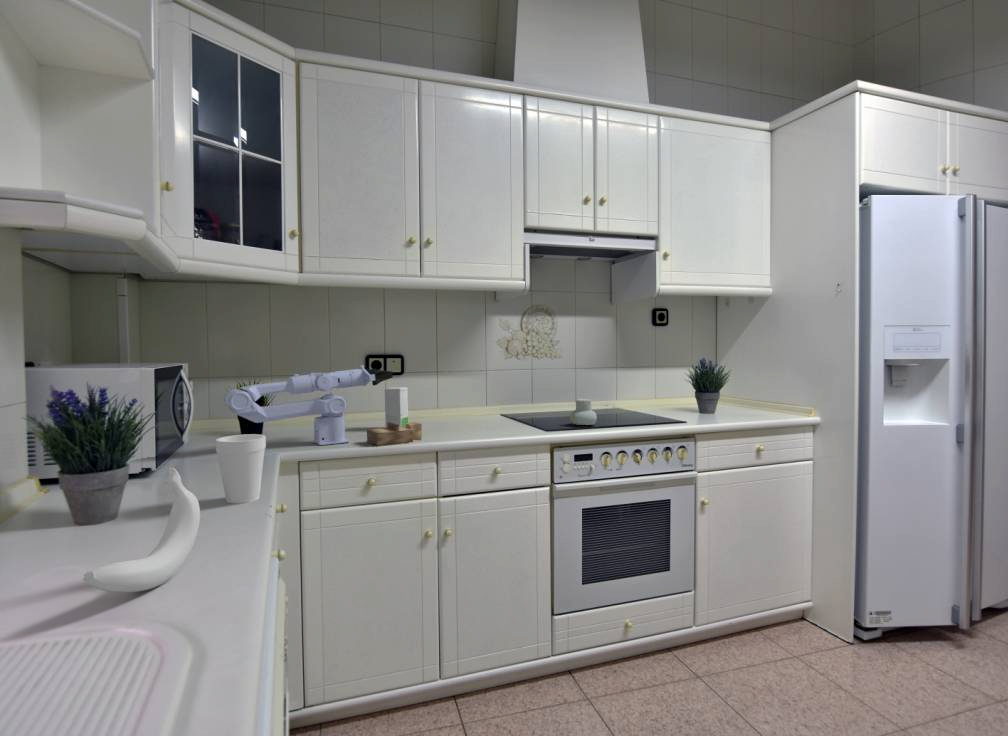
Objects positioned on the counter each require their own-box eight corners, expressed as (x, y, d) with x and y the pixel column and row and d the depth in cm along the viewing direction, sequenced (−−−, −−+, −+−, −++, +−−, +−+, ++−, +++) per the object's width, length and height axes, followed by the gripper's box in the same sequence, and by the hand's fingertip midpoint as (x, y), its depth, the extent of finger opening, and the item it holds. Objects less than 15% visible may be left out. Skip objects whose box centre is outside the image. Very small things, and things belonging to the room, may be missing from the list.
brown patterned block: (410, 441, 185) (410, 424, 185) (405, 439, 189) (405, 423, 188) (421, 440, 187) (421, 423, 187) (416, 438, 191) (416, 422, 190)
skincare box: (400, 430, 206) (400, 388, 206) (384, 430, 208) (383, 388, 207) (409, 427, 215) (408, 386, 214) (393, 427, 216) (392, 386, 215)
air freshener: (569, 423, 221) (569, 398, 221) (589, 423, 223) (589, 397, 222) (577, 427, 210) (577, 401, 210) (598, 427, 212) (598, 400, 211)
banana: (82, 617, 68) (76, 498, 67) (179, 557, 87) (175, 463, 86) (121, 618, 68) (116, 498, 67) (210, 557, 86) (206, 463, 86)
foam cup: (274, 499, 118) (272, 437, 117) (227, 508, 112) (224, 443, 111) (257, 490, 125) (255, 432, 124) (212, 499, 118) (210, 438, 118)
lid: (379, 435, 177) (379, 426, 177) (370, 432, 184) (370, 423, 183) (411, 431, 183) (411, 423, 183) (401, 428, 190) (401, 420, 190)
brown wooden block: (377, 446, 176) (377, 433, 176) (367, 442, 184) (366, 429, 184) (412, 442, 183) (412, 429, 183) (401, 438, 190) (401, 426, 190)
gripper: (355, 367, 180) (394, 363, 187) (341, 365, 192) (379, 361, 199) (357, 389, 180) (396, 383, 188) (343, 386, 192) (380, 381, 200)
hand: (387, 374), depth 194 cm, fingers open, 7 cm apart
